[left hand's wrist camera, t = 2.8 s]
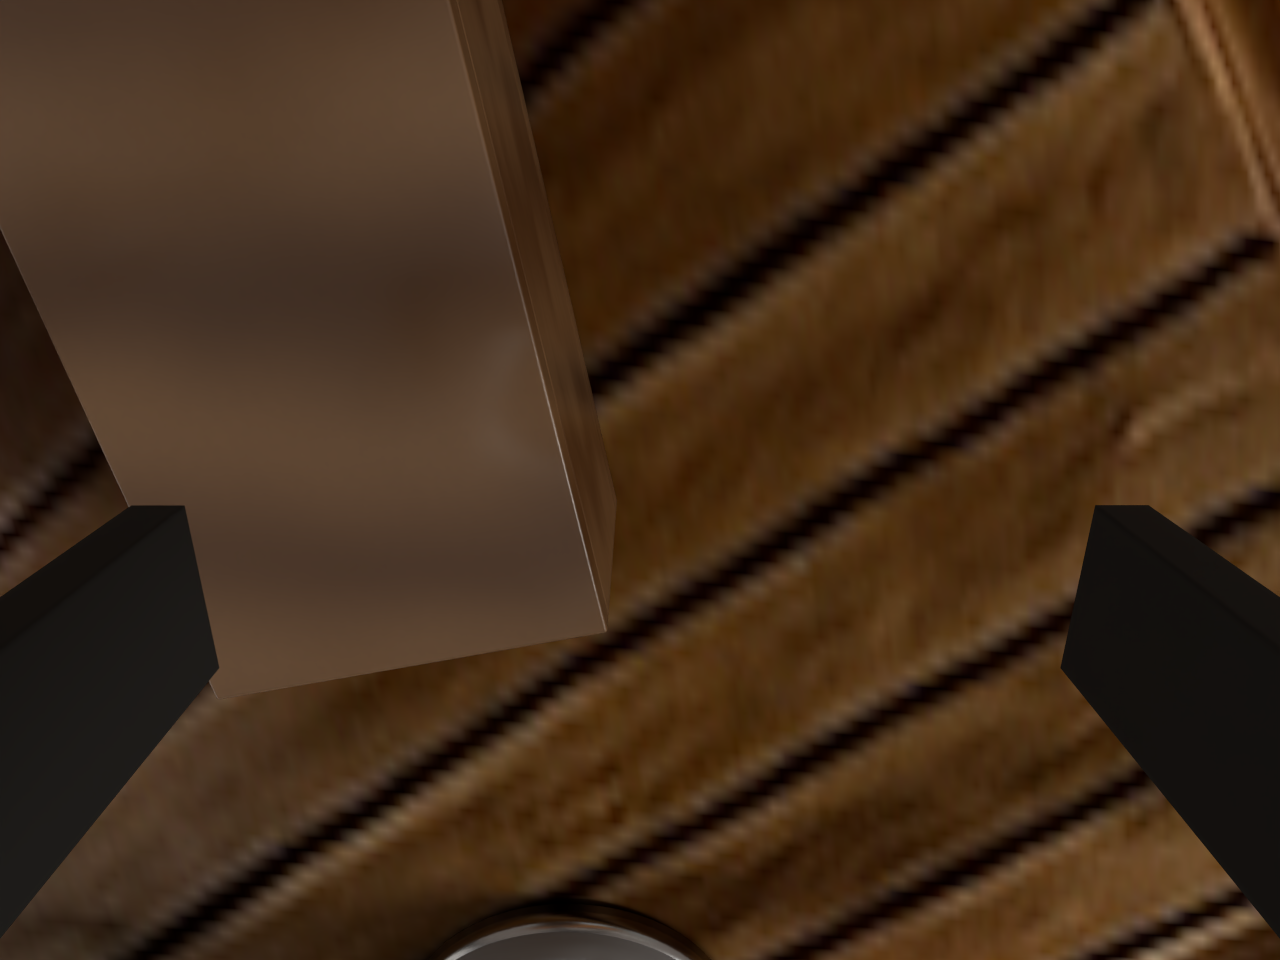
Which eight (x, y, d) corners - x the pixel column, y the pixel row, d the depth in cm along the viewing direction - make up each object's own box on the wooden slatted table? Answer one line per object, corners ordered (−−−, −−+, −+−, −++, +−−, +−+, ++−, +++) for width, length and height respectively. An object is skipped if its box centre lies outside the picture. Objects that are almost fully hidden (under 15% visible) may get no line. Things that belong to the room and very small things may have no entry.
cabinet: (78, -111, 23) (-224, -250, 15) (454, -207, 22) (348, -407, 14) (328, 554, 30) (216, 701, 22) (617, 501, 30) (607, 633, 22)
